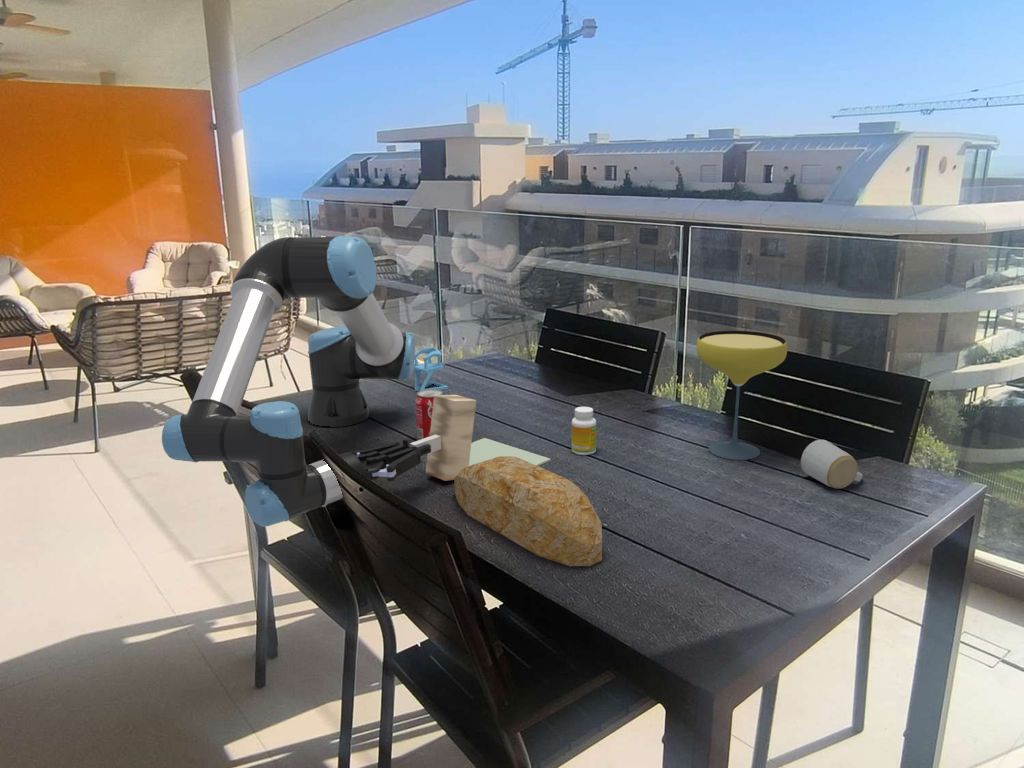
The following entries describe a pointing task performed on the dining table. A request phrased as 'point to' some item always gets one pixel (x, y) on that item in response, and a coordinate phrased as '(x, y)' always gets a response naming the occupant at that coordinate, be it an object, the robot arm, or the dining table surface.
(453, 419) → the beech block
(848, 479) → the ceramic mug
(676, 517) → the dining table surface
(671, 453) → the dining table surface
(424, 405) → the soda can
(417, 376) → the chair
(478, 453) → the green mat
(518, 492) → the bread
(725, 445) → the cocktail glass
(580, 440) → the supplement bottle
